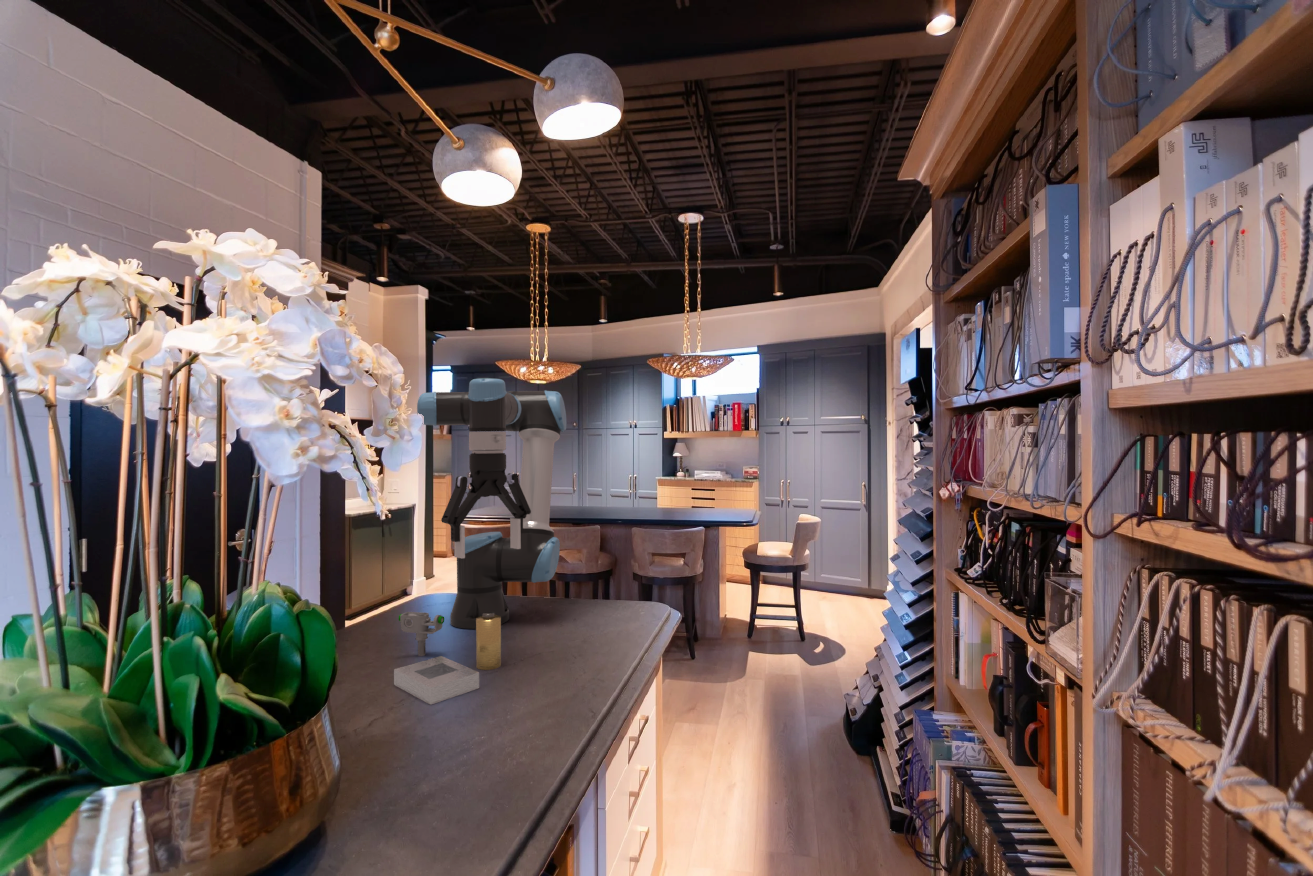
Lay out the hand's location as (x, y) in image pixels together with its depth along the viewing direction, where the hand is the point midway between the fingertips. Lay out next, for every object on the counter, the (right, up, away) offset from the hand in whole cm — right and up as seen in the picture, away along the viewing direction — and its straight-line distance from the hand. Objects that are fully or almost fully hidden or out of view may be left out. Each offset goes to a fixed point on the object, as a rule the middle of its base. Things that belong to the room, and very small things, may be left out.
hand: (488, 552), depth 133 cm
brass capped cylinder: (0, -25, 0) cm, 25 cm away
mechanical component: (-17, -25, +6) cm, 31 cm away
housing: (-7, -25, -11) cm, 28 cm away
